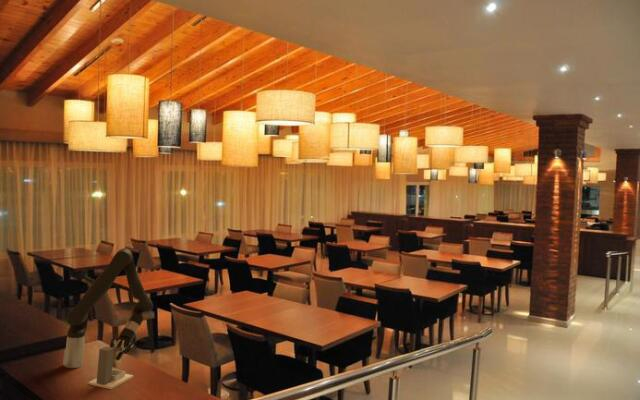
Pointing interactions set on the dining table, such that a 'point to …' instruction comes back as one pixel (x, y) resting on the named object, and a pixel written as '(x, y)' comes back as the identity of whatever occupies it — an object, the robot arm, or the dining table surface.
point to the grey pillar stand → (108, 371)
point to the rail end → (115, 362)
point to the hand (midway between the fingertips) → (113, 358)
